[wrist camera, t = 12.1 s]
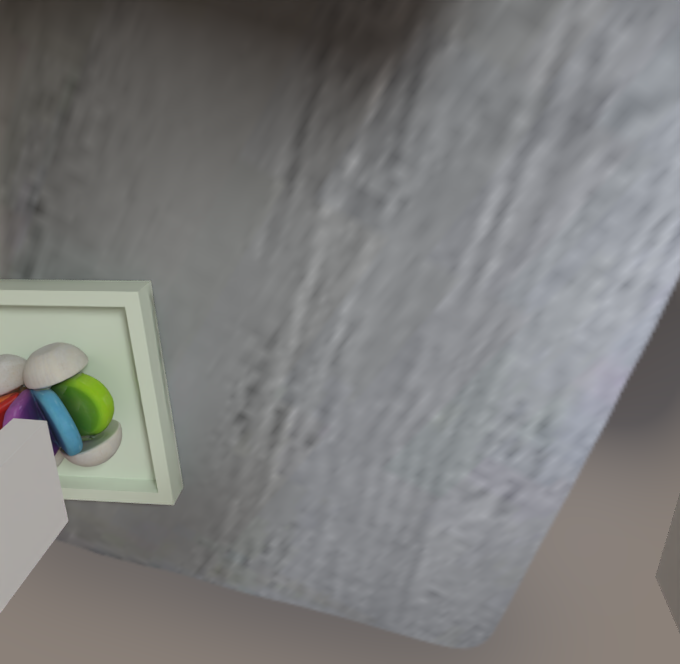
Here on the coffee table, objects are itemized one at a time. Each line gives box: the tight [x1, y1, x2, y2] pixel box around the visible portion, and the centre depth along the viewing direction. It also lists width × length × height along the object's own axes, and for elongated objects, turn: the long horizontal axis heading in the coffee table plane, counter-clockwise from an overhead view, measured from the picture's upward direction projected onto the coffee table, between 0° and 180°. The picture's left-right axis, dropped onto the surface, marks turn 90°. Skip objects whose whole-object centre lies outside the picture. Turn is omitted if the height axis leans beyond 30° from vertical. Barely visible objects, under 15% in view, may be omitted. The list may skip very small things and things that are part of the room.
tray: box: [0, 279, 183, 505], centre depth 43 cm, size 16×15×2 cm
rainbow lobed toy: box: [0, 342, 122, 467], centre depth 40 cm, size 8×10×7 cm
